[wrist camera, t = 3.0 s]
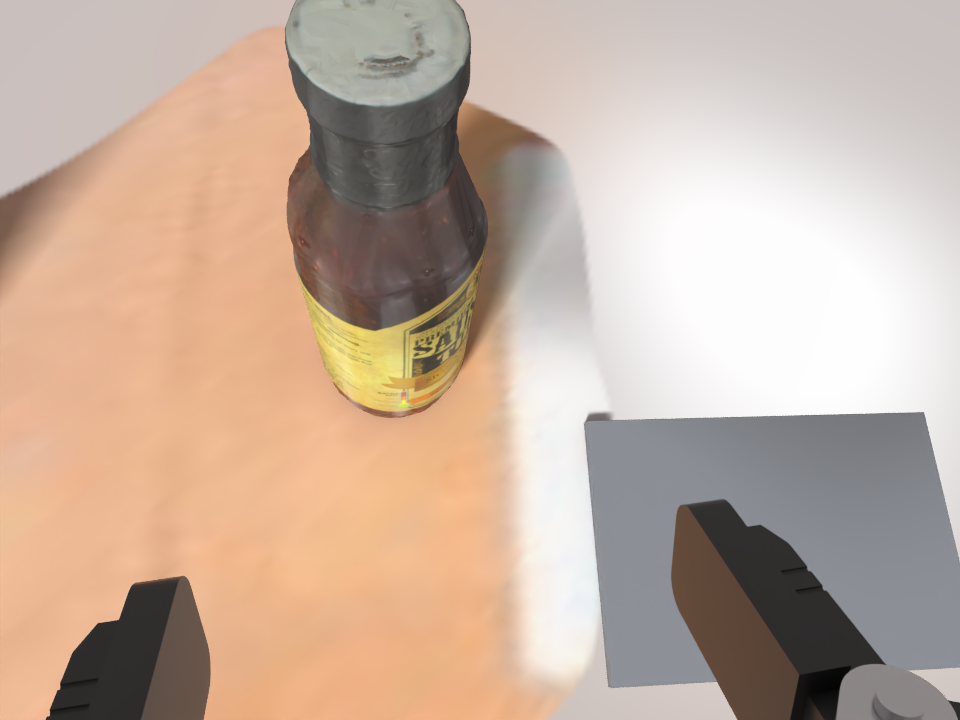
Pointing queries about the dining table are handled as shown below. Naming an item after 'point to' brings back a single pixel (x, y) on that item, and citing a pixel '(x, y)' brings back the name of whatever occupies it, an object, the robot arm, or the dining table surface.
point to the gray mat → (776, 528)
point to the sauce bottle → (385, 196)
